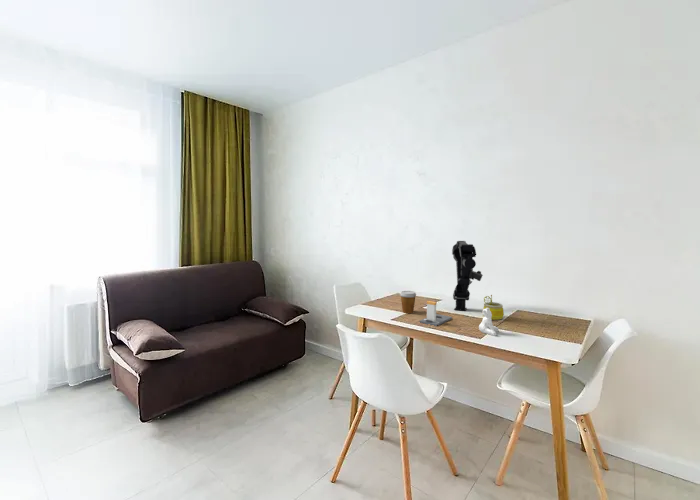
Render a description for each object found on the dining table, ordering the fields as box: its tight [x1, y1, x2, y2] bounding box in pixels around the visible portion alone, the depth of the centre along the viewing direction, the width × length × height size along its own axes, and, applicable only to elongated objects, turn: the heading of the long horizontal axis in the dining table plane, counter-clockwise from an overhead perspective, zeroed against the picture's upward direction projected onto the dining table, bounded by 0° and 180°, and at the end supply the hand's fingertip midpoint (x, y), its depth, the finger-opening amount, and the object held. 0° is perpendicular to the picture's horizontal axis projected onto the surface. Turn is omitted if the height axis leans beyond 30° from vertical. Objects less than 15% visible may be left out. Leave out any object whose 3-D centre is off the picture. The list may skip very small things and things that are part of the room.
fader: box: [426, 300, 438, 322], centre depth 181 cm, size 2×5×10 cm, turn 48°
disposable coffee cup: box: [399, 290, 417, 314], centre depth 202 cm, size 10×10×12 cm
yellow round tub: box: [482, 294, 505, 321], centre depth 190 cm, size 13×11×12 cm
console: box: [419, 313, 453, 327], centre depth 185 cm, size 18×10×2 cm, turn 138°
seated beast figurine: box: [478, 308, 500, 337], centre depth 165 cm, size 10×9×12 cm
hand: (465, 294), depth 191 cm, fingers closed
